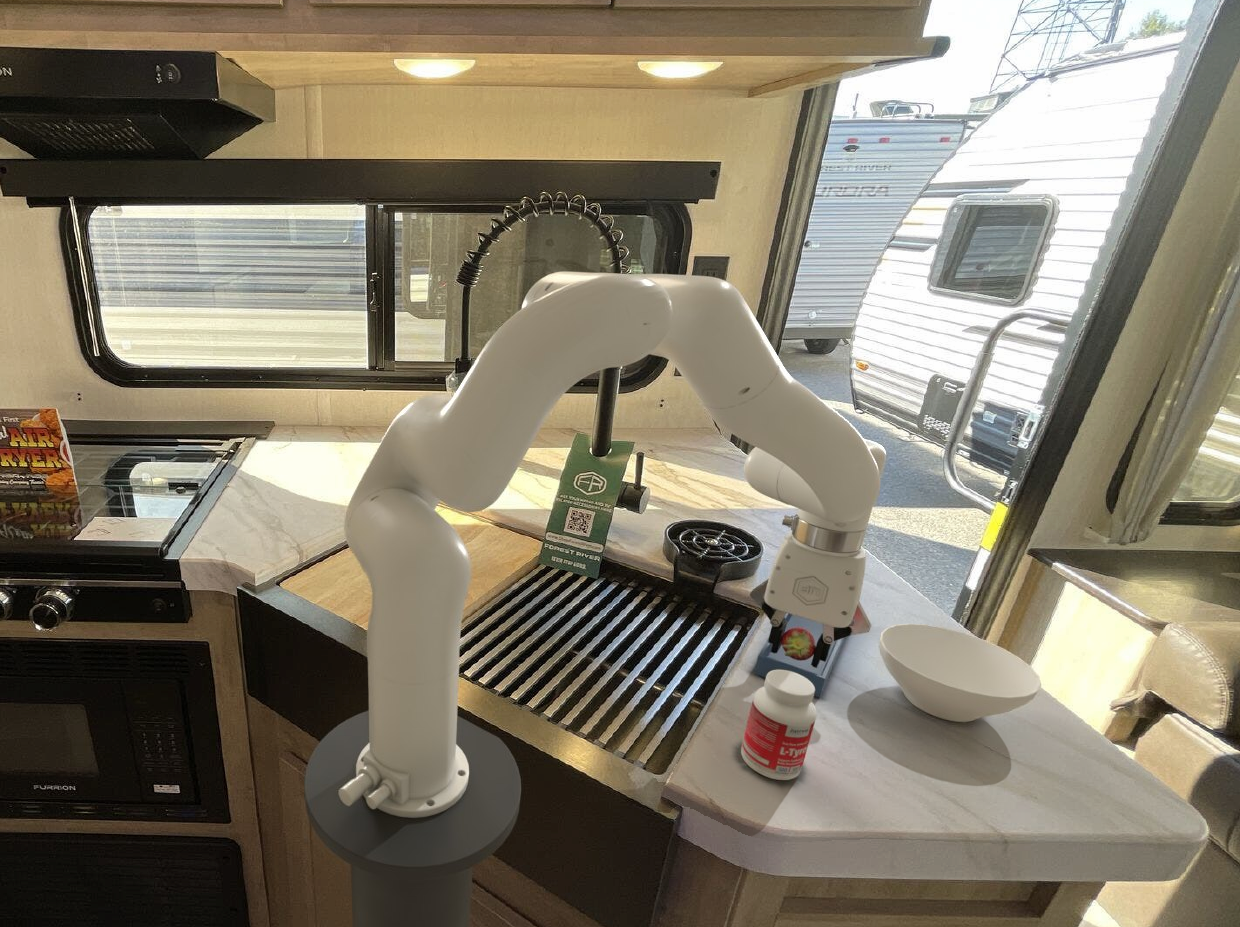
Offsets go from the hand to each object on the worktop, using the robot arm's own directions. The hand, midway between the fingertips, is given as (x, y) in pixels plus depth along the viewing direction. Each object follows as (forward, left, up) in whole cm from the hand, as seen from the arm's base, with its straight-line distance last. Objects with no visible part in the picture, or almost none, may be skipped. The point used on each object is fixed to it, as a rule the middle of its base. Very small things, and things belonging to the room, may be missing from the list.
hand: (795, 654), depth 90 cm
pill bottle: (-21, -2, -3) cm, 21 cm away
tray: (+9, 0, -3) cm, 10 cm away
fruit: (0, 0, -1) cm, 1 cm away
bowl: (+5, -16, -3) cm, 17 cm away
